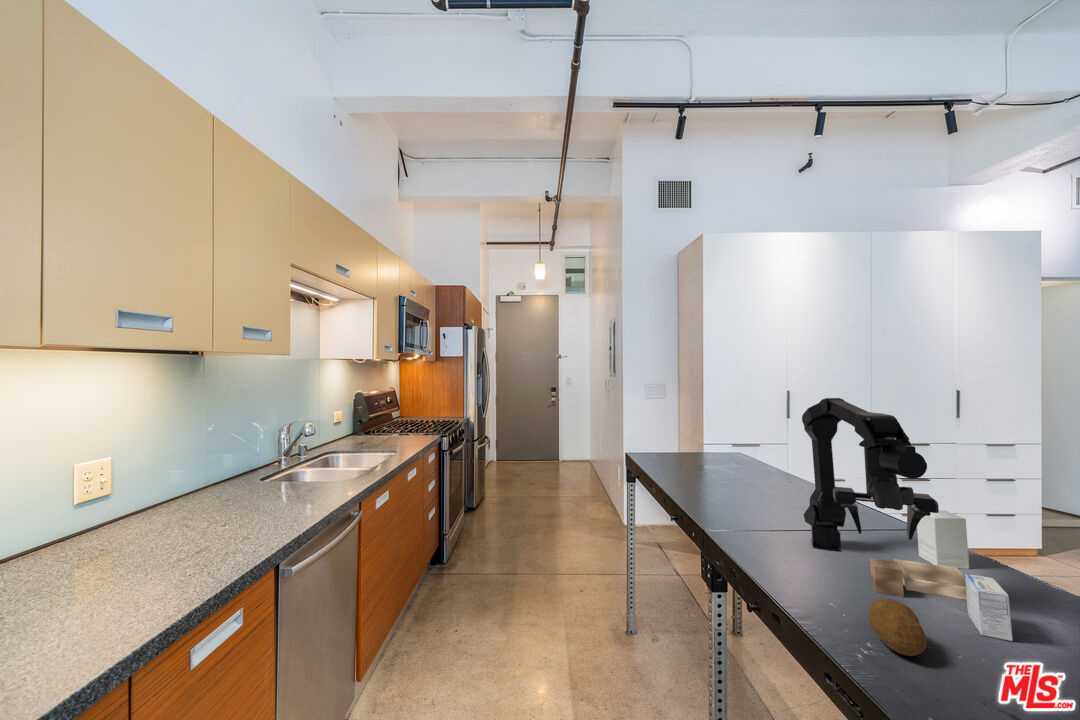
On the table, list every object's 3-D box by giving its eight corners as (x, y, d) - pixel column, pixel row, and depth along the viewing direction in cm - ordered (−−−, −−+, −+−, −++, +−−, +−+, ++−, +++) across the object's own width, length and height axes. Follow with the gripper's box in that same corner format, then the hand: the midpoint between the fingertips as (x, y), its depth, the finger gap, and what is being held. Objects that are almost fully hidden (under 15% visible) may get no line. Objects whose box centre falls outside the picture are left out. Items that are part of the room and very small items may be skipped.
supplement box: (970, 569, 109) (967, 518, 109) (936, 567, 110) (933, 517, 111) (949, 557, 116) (946, 509, 116) (917, 555, 117) (914, 508, 118)
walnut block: (875, 593, 99) (874, 566, 99) (871, 583, 103) (870, 558, 103) (903, 597, 96) (902, 570, 97) (898, 587, 101) (896, 561, 101)
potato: (892, 664, 75) (889, 619, 75) (854, 624, 87) (851, 584, 87) (946, 669, 73) (943, 622, 74) (899, 627, 85) (897, 587, 86)
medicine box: (1013, 642, 80) (1010, 595, 80) (980, 635, 82) (976, 589, 82) (997, 621, 86) (994, 577, 87) (967, 615, 89) (964, 572, 89)
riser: (906, 589, 100) (906, 577, 100) (894, 568, 110) (893, 558, 110) (977, 601, 94) (976, 588, 94) (957, 578, 104) (956, 566, 104)
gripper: (836, 472, 98) (840, 542, 98) (945, 480, 89) (950, 556, 89) (831, 463, 108) (834, 526, 107) (928, 469, 99) (932, 538, 99)
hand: (884, 536), depth 100 cm, fingers open, 9 cm apart
